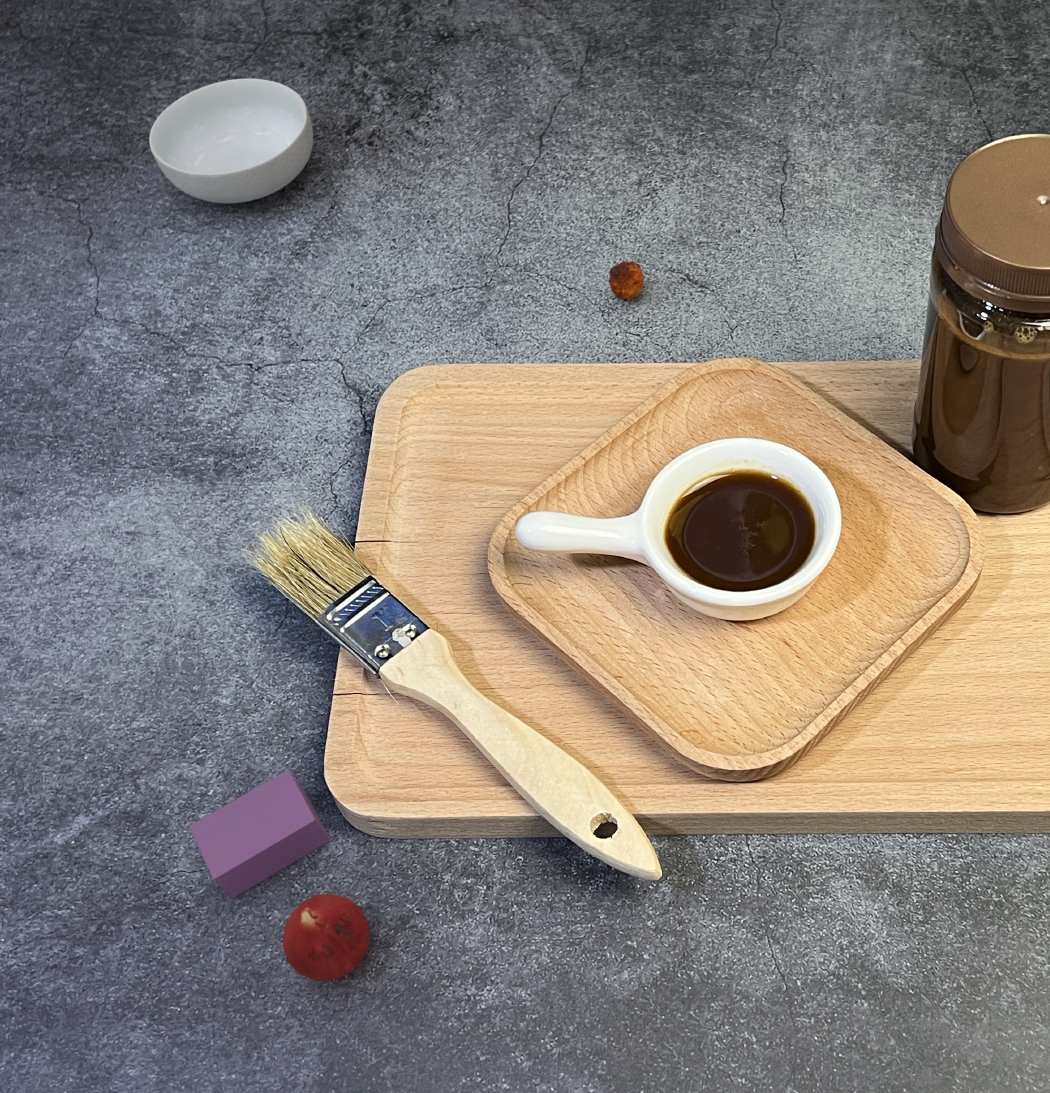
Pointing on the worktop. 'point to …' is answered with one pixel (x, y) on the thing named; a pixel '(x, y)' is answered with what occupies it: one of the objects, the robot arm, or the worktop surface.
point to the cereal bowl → (233, 140)
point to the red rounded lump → (326, 937)
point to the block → (259, 834)
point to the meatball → (626, 279)
